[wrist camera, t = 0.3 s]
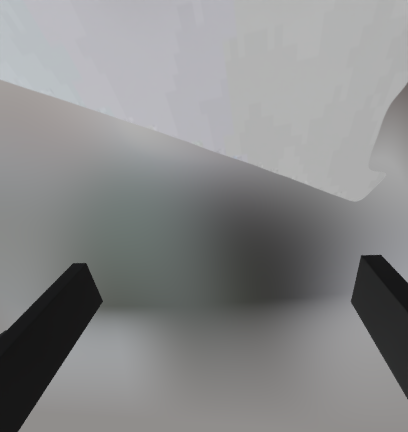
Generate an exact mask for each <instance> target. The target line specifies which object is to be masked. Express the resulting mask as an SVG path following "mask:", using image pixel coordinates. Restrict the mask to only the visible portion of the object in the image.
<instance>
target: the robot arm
mask: <svg viewBox="0 0 408 432" xmlns="http://www.w3.org/2000/svg"><path fill="white" fill-rule="evenodd" d="M102 302H103V301H102V298H101V296H100V294H99V291H98V289H97V287H96V285H95V282H94V280H93V278H92V275H91V273H90V271H89V269H88V266H87V264H86V263H73V264H72V265H71V266H70V267H69V268H68V269H67V270H66V271H65V272H64V273H63V274H62V275H61V276H60V277H59V278H58V279H57V280H56V281H55V282H54V283H53V284H52V285H51V286H50V287H49V288H48V290H46V291H45V292H44V293H43V294H42V295H41V296H40V297H39V298H38V300H37V301H35V302H34V303H33V304H32V306H31V307H30V308H29V309H28V310H27V311H26V312H25V313H24V314H23V315H22V316H21V317H20V318H19V319H18V320H17V321H16V322H15V323H14V324H13V325H12V326H11V327H10V328H9V329H8V330H6V331H4V332H3V333H1V334H0V432H18V431H19V429H20V428H21V426H22V425H23V423H24V422H25V420H26V418H27V417H28V415H29V414H30V412H31V411H32V409H33V408H34V406H35V405H36V403H37V402H38V400H39V399H40V397H41V396H42V394H43V392H44V391H45V389H46V388H47V386H48V385H49V383H50V382H51V380H52V378H53V377H54V375H55V374H56V372H57V371H58V369H59V368H60V366H61V365H62V363H63V362H64V360H65V359H66V357H67V356H68V354H69V353H70V351H71V350H72V348H73V346H74V345H75V343H76V342H77V340H78V339H79V337H80V335H81V334H82V332H83V331H84V330H85V328H86V327H87V325H88V323H89V322H90V320H91V319H92V317H93V316H94V314H95V313H96V311H97V310H98V308H99V307H100V305H101V303H102ZM351 303H352V305H353V306H354V308H355V310H356V311H357V313H358V315H359V317H360V318H361V320H362V322H363V323H364V325H365V327H366V328H367V330H368V332H369V334H370V335H371V337H372V339H373V340H374V342H375V344H376V346H377V347H378V349H379V350H380V353H381V354H382V356H383V357H384V359H385V361H386V363H387V364H388V366H389V368H390V370H391V371H392V373H393V375H394V377H395V378H396V380H397V382H398V383H399V385H400V387H401V388H402V390H403V392H404V394H405V395H406V397H407V399H408V283H407V282H406V281H405V280H404V279H403V277H402V276H401V275H400V274H399V273H397V271H396V270H395V269H394V268H393V267H392V266H391V265H390V264H389V263H388V262H387V261H386V260H385V259H384V258H383V257H382V255H366V256H363V255H362V256H361V259H360V263H359V268H358V272H357V277H356V281H355V286H354V290H353V295H352V299H351Z"/></svg>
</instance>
